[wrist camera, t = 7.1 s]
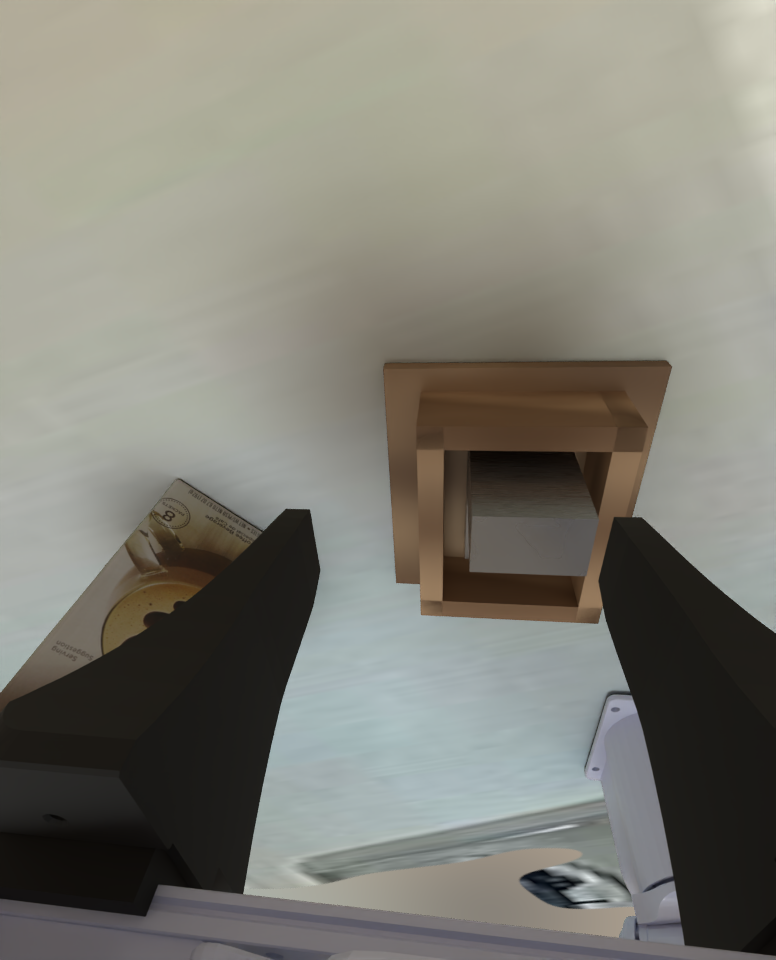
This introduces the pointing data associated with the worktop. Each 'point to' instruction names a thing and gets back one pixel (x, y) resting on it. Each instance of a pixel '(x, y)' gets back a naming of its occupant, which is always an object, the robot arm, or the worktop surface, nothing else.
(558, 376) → the tray
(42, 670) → the coffee box
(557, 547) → the brushed steel block
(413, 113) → the worktop surface
